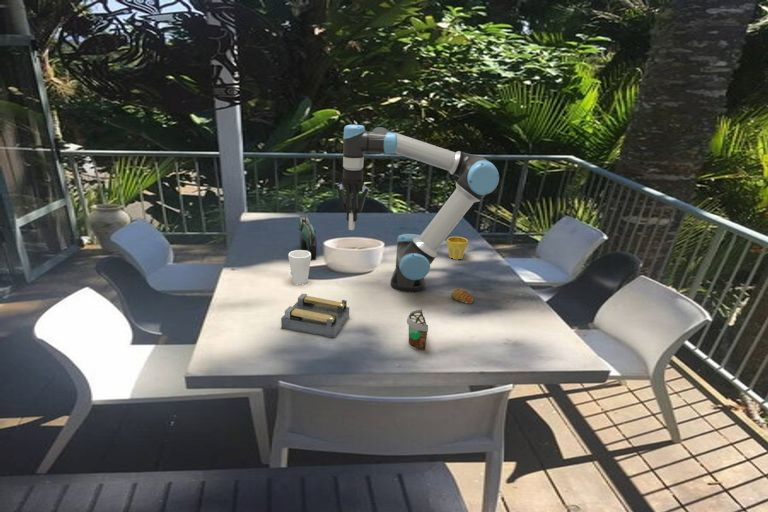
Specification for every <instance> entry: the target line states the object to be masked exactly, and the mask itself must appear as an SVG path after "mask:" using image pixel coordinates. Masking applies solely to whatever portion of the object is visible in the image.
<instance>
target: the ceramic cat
mask: <svg viewBox="0 0 768 512" xmlns="http://www.w3.org/2000/svg"><path fill="white" fill-rule="evenodd" d="M297 223H298V225H297V227H298V228H297V229H298V230H299V231H300V233H299V234H300V236H299V248H300V249H299V250H305V251H308V252H310V253H311V260H310V261H316V259H317V248H318V247H317V246H318V245H317V243H318V242H317V232H316V229H315V228H314V226H313V224H311V222H310V219H309V217H308V215H307V213H305V215H304V216H303V215H302V214H300V217H298V220H297Z"/></svg>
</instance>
